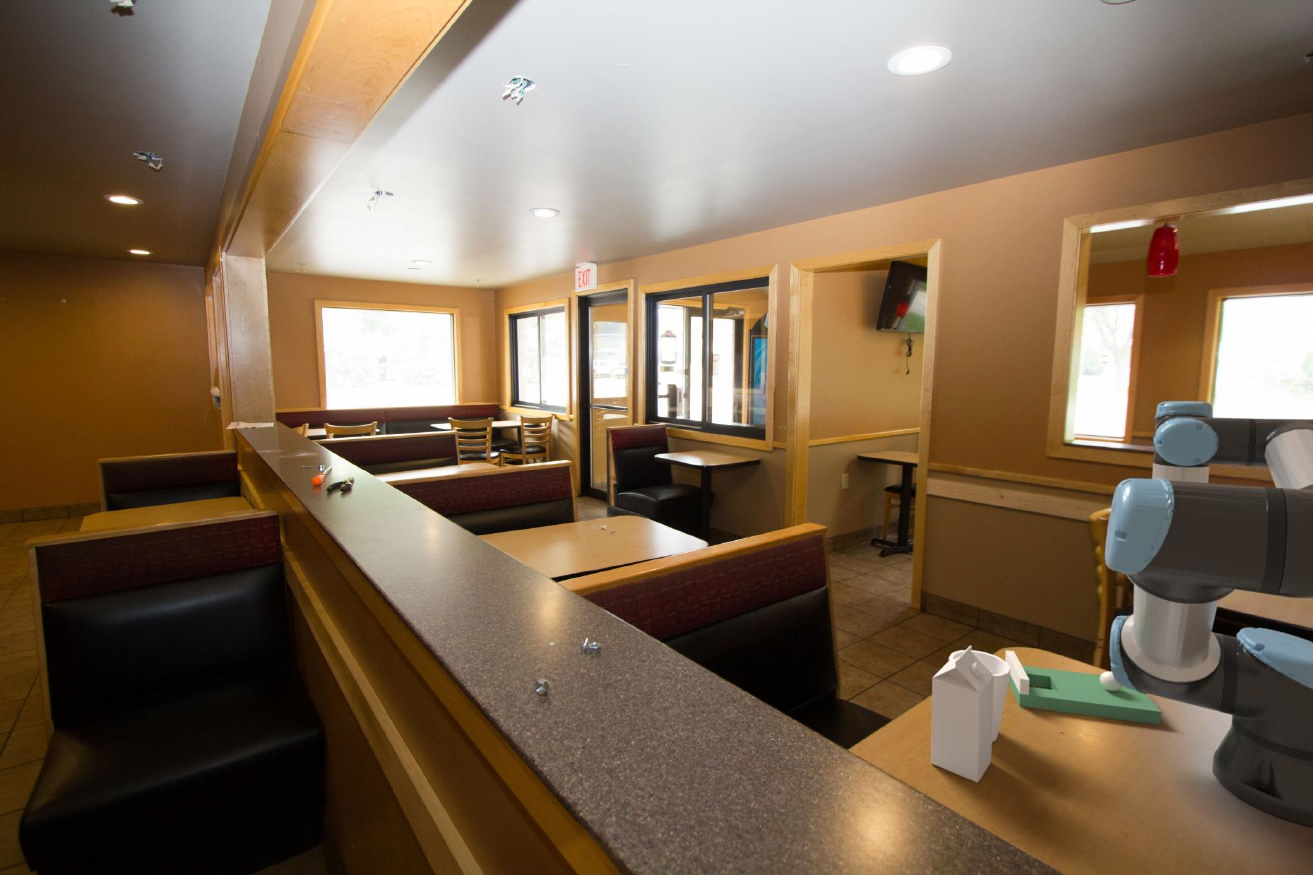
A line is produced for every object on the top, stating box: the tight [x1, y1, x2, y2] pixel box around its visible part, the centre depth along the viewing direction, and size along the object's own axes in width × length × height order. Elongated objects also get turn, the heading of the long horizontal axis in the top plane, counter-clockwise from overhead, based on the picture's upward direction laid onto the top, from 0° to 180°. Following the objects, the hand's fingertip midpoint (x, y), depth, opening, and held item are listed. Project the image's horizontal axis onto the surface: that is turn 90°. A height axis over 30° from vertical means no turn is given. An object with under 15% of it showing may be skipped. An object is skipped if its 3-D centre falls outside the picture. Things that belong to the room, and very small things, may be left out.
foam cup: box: [948, 649, 1010, 743], centre depth 105 cm, size 10×9×13 cm
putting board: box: [1004, 650, 1162, 726], centre depth 115 cm, size 12×22×6 cm, turn 71°
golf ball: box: [1100, 671, 1122, 691], centre depth 113 cm, size 4×4×4 cm
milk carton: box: [930, 645, 994, 784], centre depth 96 cm, size 7×7×19 cm
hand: (1170, 614), depth 108 cm, fingers closed
